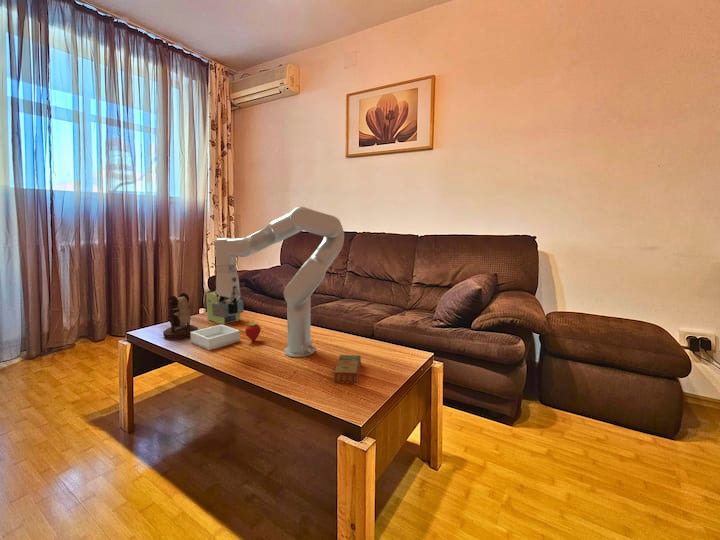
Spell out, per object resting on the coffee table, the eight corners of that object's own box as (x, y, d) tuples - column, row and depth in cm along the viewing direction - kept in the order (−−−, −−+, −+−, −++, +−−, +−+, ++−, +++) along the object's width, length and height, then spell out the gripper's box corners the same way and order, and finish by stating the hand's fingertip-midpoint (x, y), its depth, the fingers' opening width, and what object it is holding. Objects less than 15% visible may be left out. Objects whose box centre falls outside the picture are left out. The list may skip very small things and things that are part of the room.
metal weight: (243, 312, 144) (243, 300, 143) (224, 317, 135) (223, 305, 135) (232, 310, 147) (231, 298, 146) (212, 315, 138) (212, 303, 138)
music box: (182, 341, 156) (179, 298, 153) (156, 338, 160) (152, 296, 157) (205, 332, 170) (202, 292, 167) (180, 329, 174) (177, 290, 171)
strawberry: (242, 342, 156) (241, 321, 155) (254, 337, 162) (254, 317, 161) (251, 345, 153) (250, 323, 152) (264, 340, 160) (263, 319, 158)
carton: (333, 383, 118) (333, 371, 118) (339, 364, 134) (339, 354, 134) (357, 384, 118) (357, 372, 117) (360, 365, 134) (360, 354, 133)
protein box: (224, 324, 182) (223, 296, 180) (207, 320, 191) (205, 292, 188) (241, 320, 191) (240, 292, 189) (223, 315, 199) (222, 289, 197)
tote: (240, 341, 158) (239, 330, 157) (209, 350, 146) (208, 339, 145) (221, 334, 167) (221, 324, 166) (191, 342, 155) (190, 332, 154)
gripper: (247, 269, 137) (249, 313, 139) (222, 266, 147) (224, 306, 149) (231, 271, 131) (232, 317, 133) (205, 267, 141) (207, 310, 143)
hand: (228, 311), depth 141 cm, fingers closed on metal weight, 7 cm apart
